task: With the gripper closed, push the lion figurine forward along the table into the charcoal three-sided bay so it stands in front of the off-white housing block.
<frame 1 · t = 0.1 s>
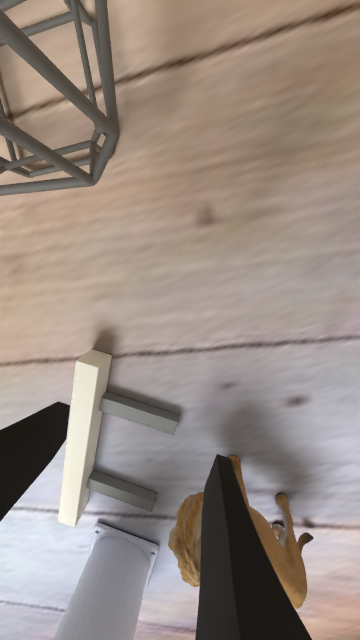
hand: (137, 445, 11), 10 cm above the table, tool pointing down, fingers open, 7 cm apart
lion figurine: (243, 486, 23), on the table
geometric lantern: (53, 106, 17), on the table
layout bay: (129, 449, 24), on the table
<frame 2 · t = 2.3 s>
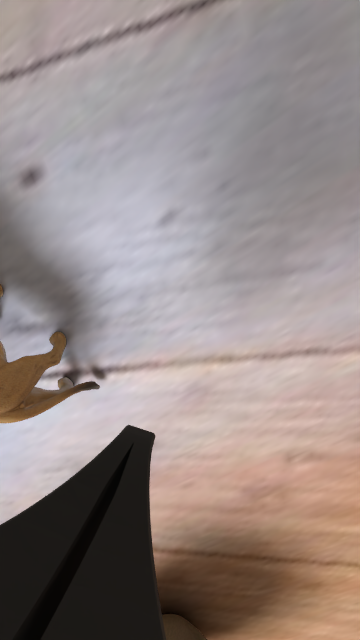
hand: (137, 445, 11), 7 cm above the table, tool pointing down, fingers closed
lion figurine: (21, 331, 19), on the table
cantaloupe: (175, 612, 25), on the table
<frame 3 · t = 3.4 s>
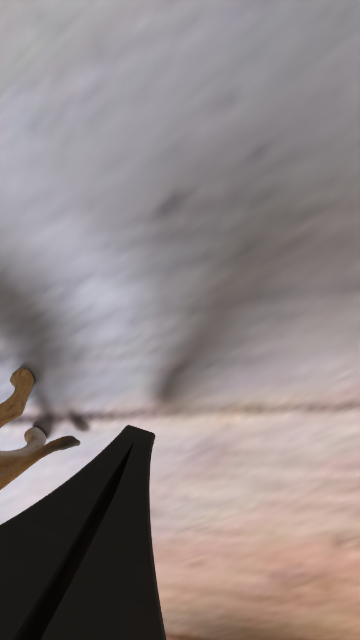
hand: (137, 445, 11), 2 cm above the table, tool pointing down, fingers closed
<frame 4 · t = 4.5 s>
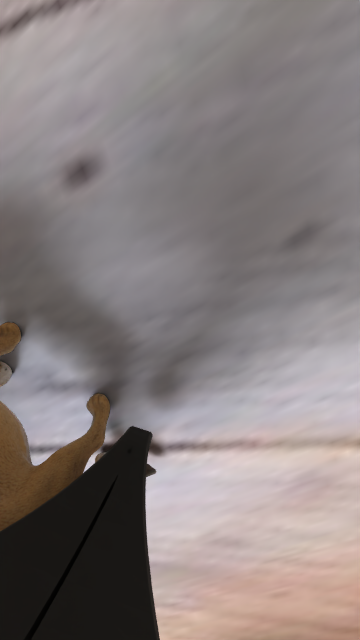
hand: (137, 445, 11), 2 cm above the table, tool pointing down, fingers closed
lion figurine: (45, 387, 13), on the table, touching gripper
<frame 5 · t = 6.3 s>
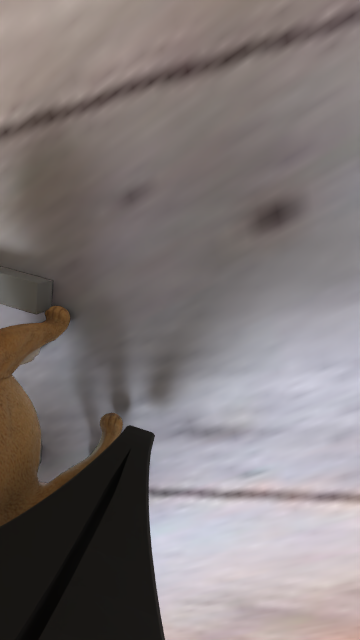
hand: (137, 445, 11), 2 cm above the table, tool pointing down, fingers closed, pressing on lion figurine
lion figurine: (65, 377, 13), on the table, touching gripper
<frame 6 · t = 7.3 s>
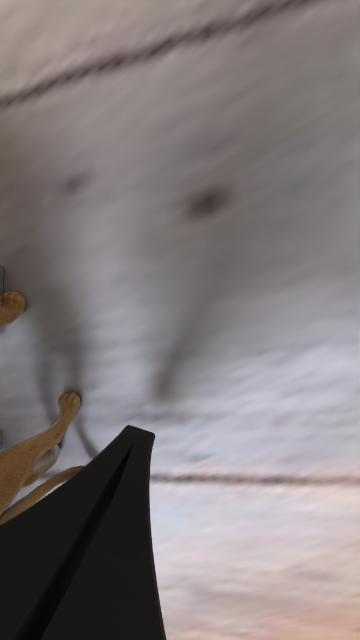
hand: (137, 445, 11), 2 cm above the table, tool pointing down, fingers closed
lion figurine: (23, 361, 13), on the table
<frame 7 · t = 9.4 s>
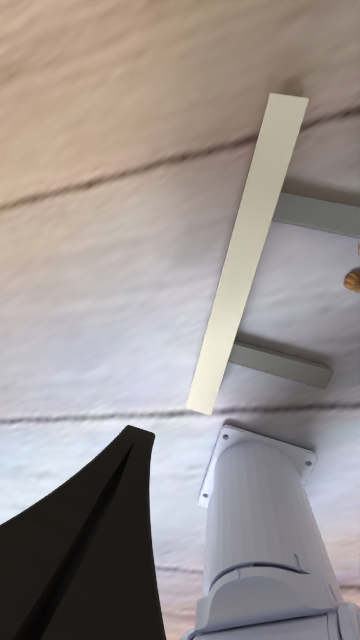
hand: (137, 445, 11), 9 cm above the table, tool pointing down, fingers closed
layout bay: (294, 295, 17), on the table
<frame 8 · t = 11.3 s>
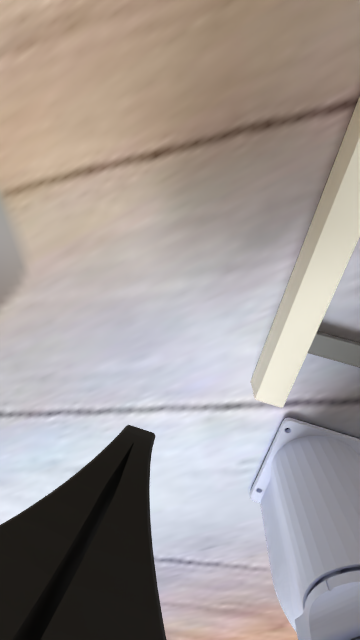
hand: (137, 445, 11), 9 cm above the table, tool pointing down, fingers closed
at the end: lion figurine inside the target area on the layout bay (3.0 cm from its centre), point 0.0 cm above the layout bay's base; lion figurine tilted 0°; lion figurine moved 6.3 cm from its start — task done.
